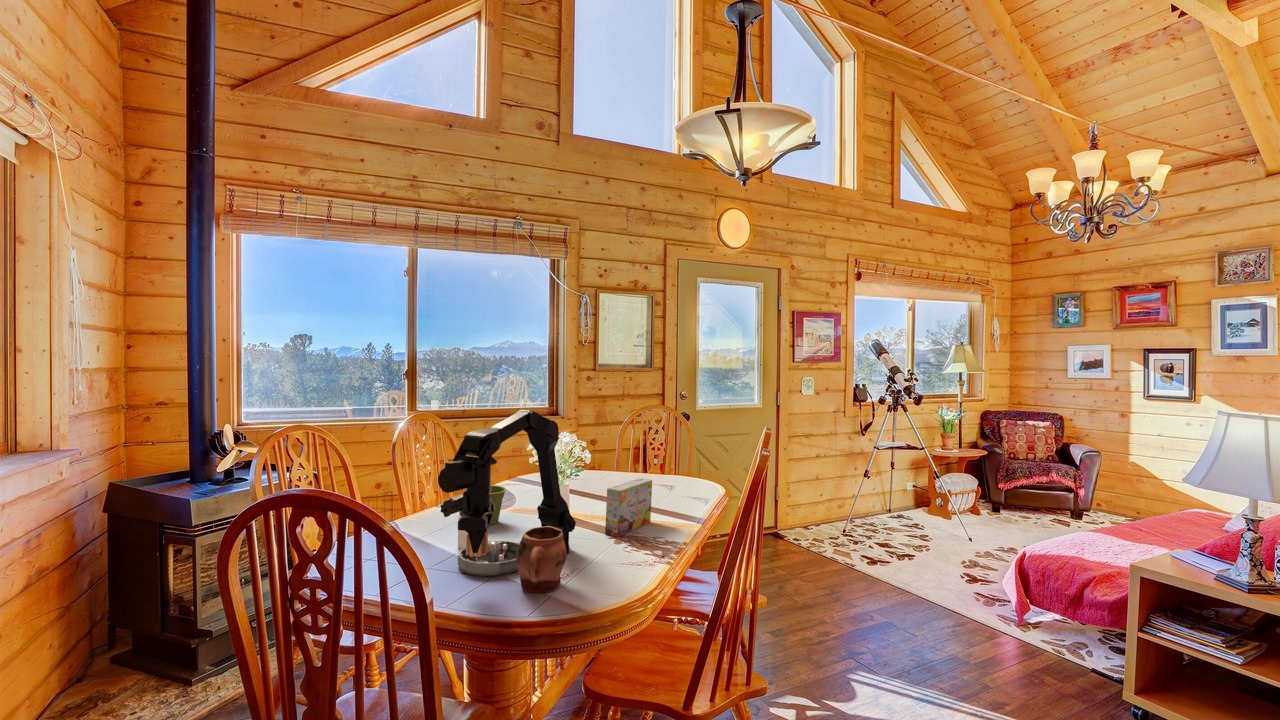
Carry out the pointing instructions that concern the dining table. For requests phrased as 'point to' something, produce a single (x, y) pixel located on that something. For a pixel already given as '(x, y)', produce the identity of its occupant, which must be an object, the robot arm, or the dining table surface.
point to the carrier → (491, 560)
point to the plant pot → (496, 502)
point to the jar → (462, 534)
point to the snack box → (628, 506)
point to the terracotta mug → (541, 559)
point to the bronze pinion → (482, 549)
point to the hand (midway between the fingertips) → (476, 549)
